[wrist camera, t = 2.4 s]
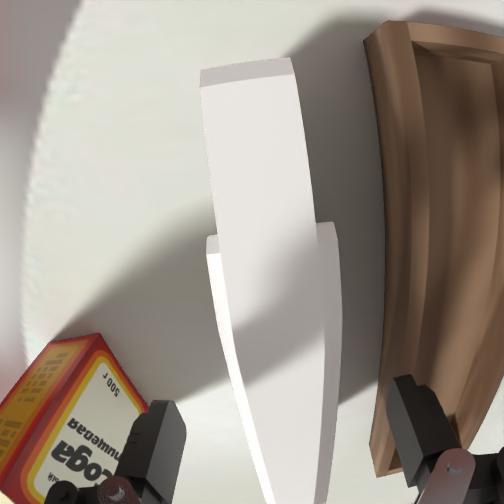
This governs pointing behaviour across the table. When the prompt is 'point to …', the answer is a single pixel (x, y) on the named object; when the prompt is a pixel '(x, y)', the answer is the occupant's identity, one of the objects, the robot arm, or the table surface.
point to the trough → (440, 220)
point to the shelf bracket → (273, 277)
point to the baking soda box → (65, 420)
